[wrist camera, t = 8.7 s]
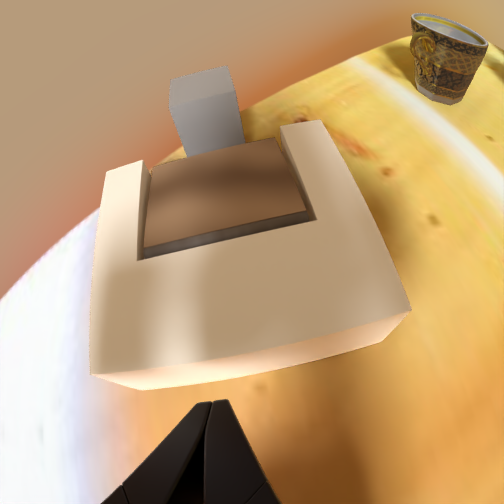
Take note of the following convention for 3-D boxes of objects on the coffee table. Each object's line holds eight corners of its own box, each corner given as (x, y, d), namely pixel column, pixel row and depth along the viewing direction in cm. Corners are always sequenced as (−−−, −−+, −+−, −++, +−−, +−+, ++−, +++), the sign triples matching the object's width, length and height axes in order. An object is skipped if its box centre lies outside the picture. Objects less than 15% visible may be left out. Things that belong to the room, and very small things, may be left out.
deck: (381, 341, 18) (411, 309, 13) (140, 390, 18) (89, 374, 13) (318, 176, 26) (320, 119, 21) (137, 218, 26) (106, 171, 21)
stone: (227, 65, 23) (241, 134, 30) (170, 79, 23) (192, 145, 30) (235, 90, 21) (249, 166, 27) (168, 107, 21) (195, 179, 28)
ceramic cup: (429, 69, 35) (438, 13, 26) (482, 105, 30) (499, 45, 21) (372, 84, 33) (378, 14, 24) (434, 126, 28) (453, 48, 19)
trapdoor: (309, 228, 17) (309, 217, 16) (148, 264, 17) (142, 256, 16) (275, 146, 22) (274, 137, 22) (156, 175, 23) (153, 166, 22)
